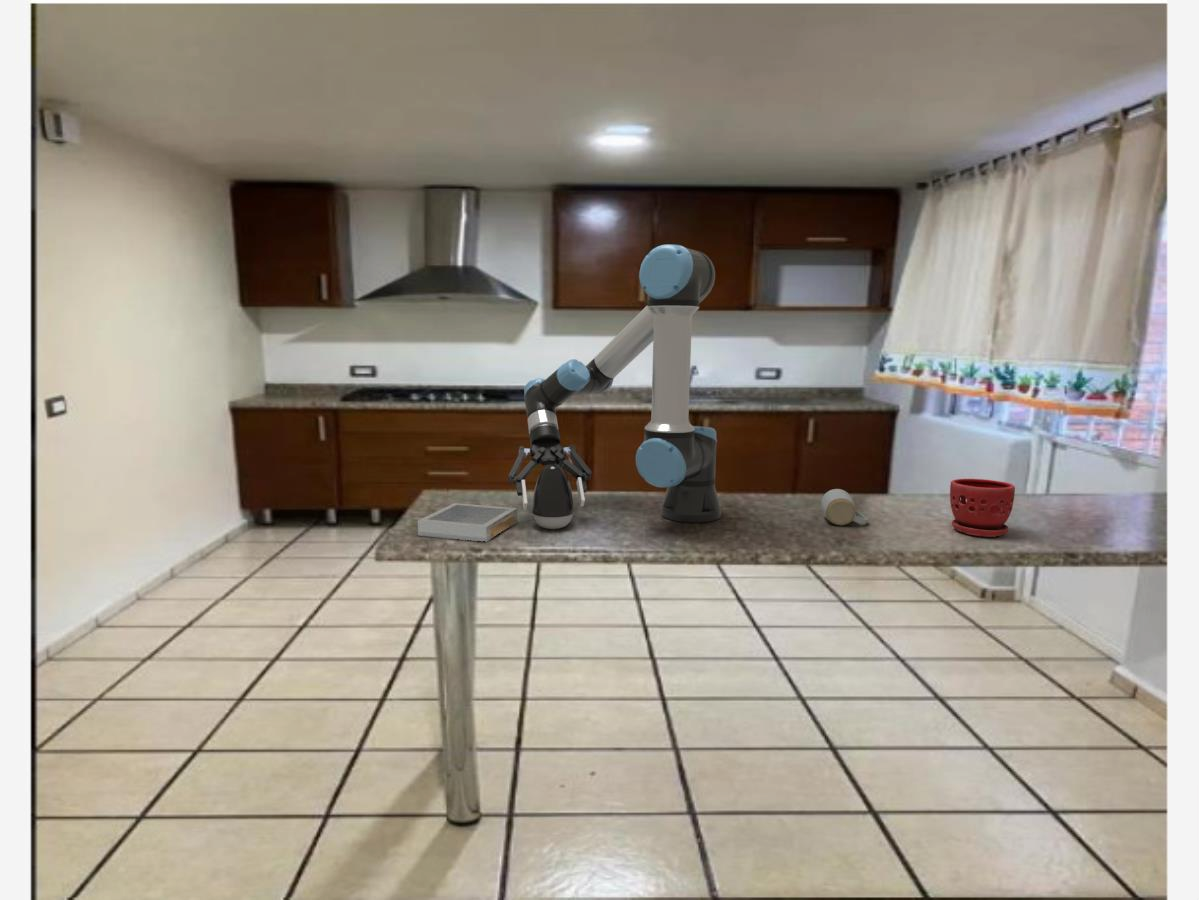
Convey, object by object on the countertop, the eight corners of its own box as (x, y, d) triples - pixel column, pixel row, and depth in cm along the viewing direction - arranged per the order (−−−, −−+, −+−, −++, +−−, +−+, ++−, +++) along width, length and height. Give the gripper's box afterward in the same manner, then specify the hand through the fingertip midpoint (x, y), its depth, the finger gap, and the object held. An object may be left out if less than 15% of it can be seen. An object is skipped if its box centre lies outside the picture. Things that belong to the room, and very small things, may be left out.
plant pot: (1016, 531, 157) (1022, 482, 155) (1000, 543, 148) (1006, 491, 146) (956, 521, 166) (961, 474, 164) (938, 531, 157) (943, 482, 155)
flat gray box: (518, 522, 162) (518, 508, 162) (488, 542, 146) (487, 527, 145) (453, 516, 167) (452, 502, 166) (416, 535, 151) (416, 520, 150)
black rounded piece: (581, 523, 162) (582, 462, 159) (562, 534, 152) (562, 469, 150) (545, 518, 166) (544, 458, 163) (523, 528, 157) (523, 465, 154)
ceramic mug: (824, 525, 161) (827, 495, 160) (819, 517, 169) (822, 487, 168) (870, 529, 159) (873, 498, 158) (863, 520, 167) (866, 490, 166)
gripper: (589, 439, 174) (603, 510, 162) (493, 442, 168) (500, 515, 156) (594, 422, 168) (608, 493, 156) (494, 424, 162) (501, 499, 150)
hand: (554, 505), depth 156 cm, fingers open, 13 cm apart
